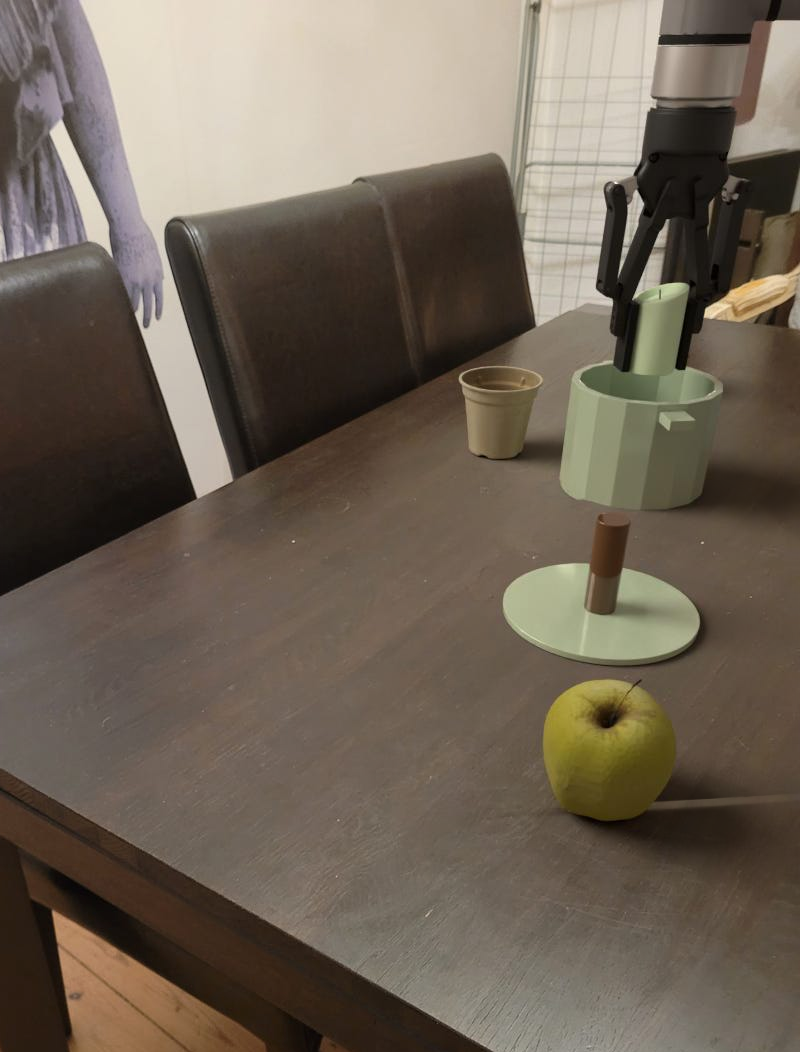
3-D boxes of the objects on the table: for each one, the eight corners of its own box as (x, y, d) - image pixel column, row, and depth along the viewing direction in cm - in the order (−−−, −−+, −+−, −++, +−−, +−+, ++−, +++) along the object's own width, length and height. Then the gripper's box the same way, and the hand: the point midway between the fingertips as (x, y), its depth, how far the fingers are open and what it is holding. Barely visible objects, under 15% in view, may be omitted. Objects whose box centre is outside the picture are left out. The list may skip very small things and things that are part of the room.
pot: (661, 450, 112) (679, 351, 106) (735, 522, 95) (761, 410, 89) (538, 455, 111) (549, 356, 105) (590, 529, 94) (607, 416, 88)
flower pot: (491, 471, 107) (498, 396, 103) (438, 447, 114) (442, 375, 109) (552, 453, 112) (561, 380, 107) (497, 431, 118) (503, 361, 114)
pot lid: (655, 570, 87) (674, 476, 82) (730, 667, 74) (757, 560, 69) (484, 578, 86) (492, 483, 81) (527, 677, 73) (540, 570, 68)
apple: (590, 725, 66) (644, 627, 59) (666, 817, 61) (735, 724, 54) (497, 761, 63) (542, 663, 55) (570, 861, 58) (629, 769, 51)
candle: (631, 377, 94) (645, 291, 90) (616, 363, 99) (628, 280, 94) (681, 376, 94) (697, 289, 90) (664, 361, 99) (679, 278, 94)
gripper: (773, 98, 88) (720, 354, 100) (579, 103, 87) (550, 360, 99) (814, 103, 81) (752, 375, 94) (605, 108, 80) (571, 381, 93)
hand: (648, 366), depth 96 cm, fingers closed on candle, 5 cm apart
